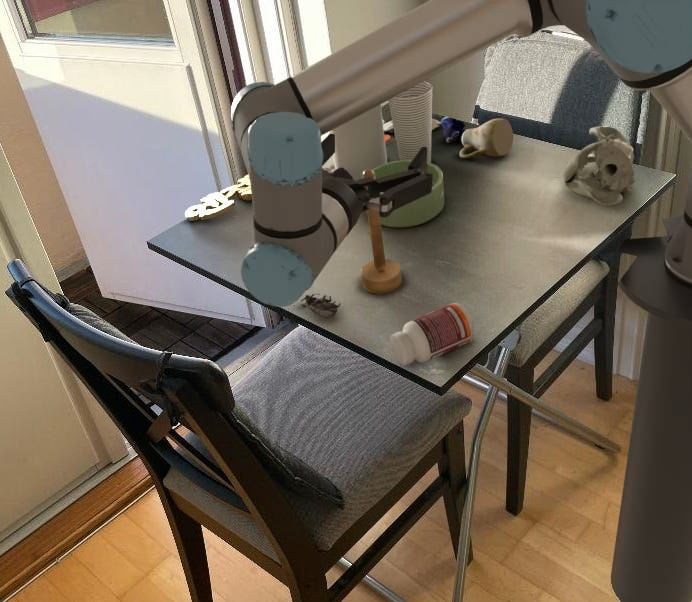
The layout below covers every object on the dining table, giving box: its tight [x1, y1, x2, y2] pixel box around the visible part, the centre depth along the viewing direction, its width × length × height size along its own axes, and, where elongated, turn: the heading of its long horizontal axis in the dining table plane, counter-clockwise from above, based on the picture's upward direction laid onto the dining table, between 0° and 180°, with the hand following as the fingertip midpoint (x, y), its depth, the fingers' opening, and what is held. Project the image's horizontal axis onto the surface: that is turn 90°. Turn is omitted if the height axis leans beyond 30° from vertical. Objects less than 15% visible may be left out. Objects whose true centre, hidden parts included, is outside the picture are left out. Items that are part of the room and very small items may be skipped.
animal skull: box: [562, 125, 636, 206], centre depth 142 cm, size 18×12×13 cm
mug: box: [459, 118, 514, 160], centre depth 158 cm, size 8×10×10 cm
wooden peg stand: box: [360, 169, 403, 295], centre depth 125 cm, size 6×6×20 cm
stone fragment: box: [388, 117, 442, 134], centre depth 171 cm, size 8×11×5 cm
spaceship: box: [440, 115, 466, 144], centre depth 164 cm, size 7×6×5 cm
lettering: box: [184, 174, 252, 222], centre depth 158 cm, size 25×10×1 cm, turn 123°
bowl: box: [365, 159, 445, 228], centre depth 146 cm, size 14×14×6 cm
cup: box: [387, 80, 433, 163], centre depth 155 cm, size 8×8×16 cm
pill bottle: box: [389, 302, 475, 366], centre depth 115 cm, size 6×6×11 cm
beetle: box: [300, 293, 341, 318], centre depth 127 cm, size 4×7×3 cm, turn 28°
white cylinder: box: [328, 104, 388, 180], centre depth 157 cm, size 10×10×16 cm
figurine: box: [322, 165, 353, 179], centre depth 154 cm, size 10×6×15 cm
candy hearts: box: [383, 119, 393, 144], centre depth 169 cm, size 8×8×1 cm
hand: (377, 149), depth 114 cm, fingers open, 13 cm apart
